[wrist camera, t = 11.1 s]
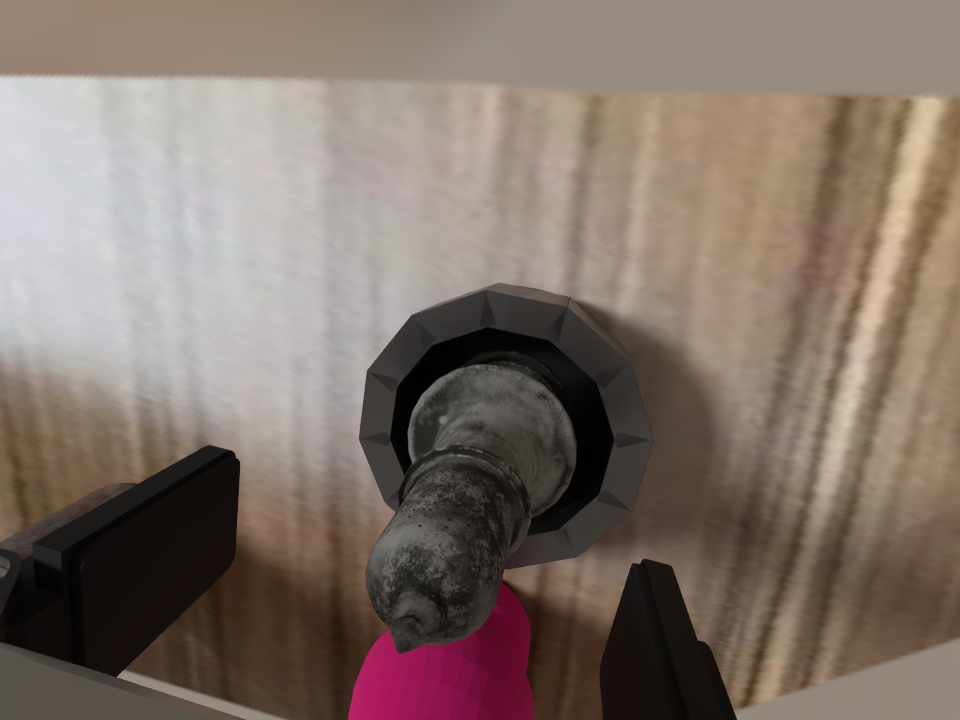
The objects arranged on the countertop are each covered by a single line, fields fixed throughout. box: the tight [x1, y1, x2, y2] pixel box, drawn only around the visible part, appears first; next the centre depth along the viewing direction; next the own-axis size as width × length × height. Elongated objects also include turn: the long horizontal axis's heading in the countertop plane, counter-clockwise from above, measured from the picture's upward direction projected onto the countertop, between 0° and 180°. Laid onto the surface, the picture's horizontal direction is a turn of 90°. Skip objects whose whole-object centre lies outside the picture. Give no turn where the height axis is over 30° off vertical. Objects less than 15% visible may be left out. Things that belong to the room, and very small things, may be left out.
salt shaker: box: [366, 350, 577, 654], centre depth 14 cm, size 6×6×12 cm
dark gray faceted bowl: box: [359, 283, 654, 569], centre depth 18 cm, size 10×10×4 cm
